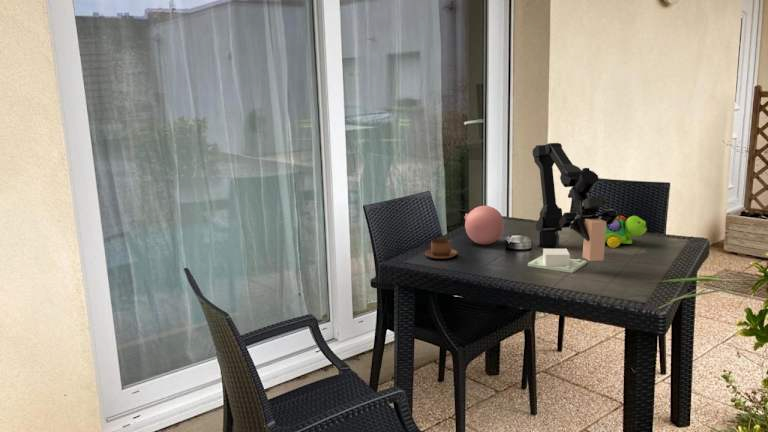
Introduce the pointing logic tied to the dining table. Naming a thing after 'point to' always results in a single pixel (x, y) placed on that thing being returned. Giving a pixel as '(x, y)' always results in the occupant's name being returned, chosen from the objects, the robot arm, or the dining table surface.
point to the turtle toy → (624, 230)
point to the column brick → (594, 239)
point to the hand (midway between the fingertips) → (596, 239)
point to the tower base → (558, 268)
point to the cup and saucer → (441, 249)
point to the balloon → (484, 224)
